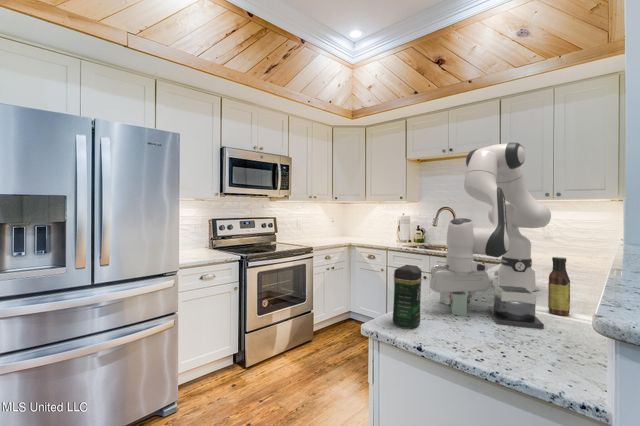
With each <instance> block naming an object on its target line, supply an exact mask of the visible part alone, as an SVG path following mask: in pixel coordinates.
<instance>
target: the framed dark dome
mask: <svg viewBox="0 0 640 426" xmlns="http://www.w3.org/2000/svg"><path fill="white" fill-rule="evenodd" d="M536 305H537V293H535V292H534V291H531V290H530V289H528V288H527V287H518V286H505V285H495V287H494V295H493V306H491V305H489V306H487V311H488V313H489V315H490V316H491V318H492V319H493V321H494V323H495V324H496V325H503V326H512V327H520V328H521V327H522V328H531V329H539V330H544V329H545V324H544V322H542V321H541V320H540V319H539V318H538V317H537V316H536V308H537V306H536Z"/></svg>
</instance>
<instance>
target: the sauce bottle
mask: <svg viewBox="0 0 640 426" xmlns="http://www.w3.org/2000/svg"><path fill="white" fill-rule="evenodd" d="M551 260H552V271H551V272H550V273H549V275H548V283H547V284H548V288H547V289H548V290H547V292H548V293H547V296H548V297H547V303H548V304H547V306H548V307H547V308H548V312H549V313H550V314H553V315H557V316H569V315H570V310H571V280H570V277H569V275H568V272H567V267H566V265H567V258H566V257H563V256H552V257H551Z"/></svg>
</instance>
